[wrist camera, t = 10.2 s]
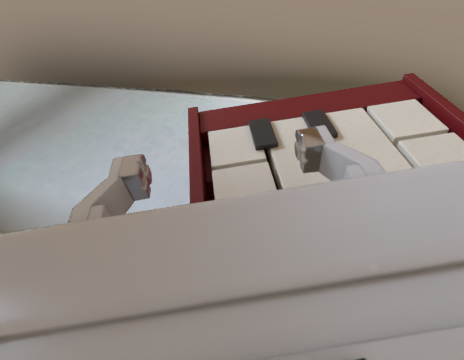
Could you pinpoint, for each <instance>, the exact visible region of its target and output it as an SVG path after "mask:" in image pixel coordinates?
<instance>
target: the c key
mask: <svg viewBox="0 0 464 360" xmlns="http://www.w3.org/2000/svg"><path fill="white" fill-rule="evenodd" d="M212 179H213V189H214V199H215V200H217V199H223V198H230V197H236V196H242V195H249V194H255V193H261V192H267V191H274V190H277V189H276V185H275V182H274V179H273V176H272V173H271V170H270V166H269V163H268V162H263V163H257V164H250V165H244V166H238V167H232V168H225V169H219V170H213V171H212Z"/></svg>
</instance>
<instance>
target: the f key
mask: <svg viewBox="0 0 464 360" xmlns="http://www.w3.org/2000/svg"><path fill="white" fill-rule="evenodd" d="M396 148H397V150H398V151H399V152H400V153H401V154H402V156H403V157H404V158H405V159H406V160H407V162H408V163H409V164H410V165H411V166H412V168H417V167H423V166H430V165H436V164H442V163H448V162H455V161H464V141H463V140H462V139H461V138H460V137H459V136H458V135H456V134H455V133H454V132H452V133H446V134H440V135H433V136H427V137H421V138H414V139H408V140H402V141H399V142H398V144H397V147H396Z"/></svg>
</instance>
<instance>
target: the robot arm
mask: <svg viewBox="0 0 464 360" xmlns="http://www.w3.org/2000/svg"><path fill="white" fill-rule="evenodd" d="M295 137H296V140H297V141H296V142H295V145H294V149H295V155H296V158H297V160H299V161H300V167H301V170H302V172H303V174H304V173H312V172H319V173H321V174H322V175H323V176H325V177H326V178H327V179H329V180H330V182H324V183H317V184H311V185H305V186H299V187H292V188H286V189H280V190H274V191H267V192H261V193H255V194H249V195H242V196H236V197H230V198H223V199H217V200H211V201H205V202H198V203H192V204H186V205H180V206H173V207H167V208H161V209H154V210H148V211H142V212H136V213H129V214H126V212H127V211H128V209H129V208H130V207H131V205H132V204H133V203H134V201H137V200H142V199H148V198H150V191H151V188H150V186H149V185H150V184H151V183H152V175H151V171H150V168H149V166H148V165H146V159H145V156H144V155H143V154H139V155H132V156H125V157H118V158H114V159H113V161H112V165H111V168H110V172H109V176H108V179H105V180H104V181H103V182H102V183H100V184H99V185H98V186H97V187H96V188H95V189H94V190H93V191H92V192H90V193H89V194H88V195H87V196H86V197H85V198H84V199H83V200H82V201H81V202H79V203H78V204H77V205H76V206H75V207H74V208H73V209H72V212H71V215H70V218H69V220H68V223H67V224H61V225H54V226H48V227H42V228H36V229H29V230H23V231H17V232H10V233H3V234H0V360H464V161H455V162H448V163H442V164H436V165H430V166H423V167H417V168H411V169H405V170H399V171H392V172H385V170H384V169H383V168H382V166H381V165H380V164H379V162H378V161H377V160H376V159H373V158H371V157H369V156H367V155H365V154H363V153H361V152H358V151H356V150H354V149H352V148H350V147H348V146H346V145H343V144H341V143H339V142H338V143H336V142H335V140H334V138H333V137H332V135H331V134H330V132H329V130H328V129H327V127H326V126H325V125H321V126H315V127H311V128H305V129H299V130H296V132H295Z"/></svg>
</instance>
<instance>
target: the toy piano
mask: <svg viewBox="0 0 464 360" xmlns="http://www.w3.org/2000/svg"><path fill="white" fill-rule="evenodd" d="M321 125H325V126H326V127H327V129H328V130H329V132H330V134H331V135H332V137H333V138H334V140H335V142H336V143H338V142H339V143H341V144H343V145H346V146H348V147H350V148H352V149H354V150H356V151H358V152H361V153H363V154H365V155H367V156H369V157H371V158H373V159H376V160H377V161H378V162H379V164H380V165H381V166H382V168H383V169H384V170H385V172H392V171H399V170H405V169H411V168H412V166H411V165H410V164H409V163H408V162H407V160H406V159H405V158H404V157H403V156H402V154H401V153H400V152H399V151H398V150H397V148H396V147H397V144H398V142H399V141H402V140H408V139H414V138H421V137H427V136H433V135H440V134H446V133H452V132H454V133H455V134H456V135H458V136H459V137H460V138H461V139H462V140H463V141H464V112H462V111H461V110H460V109H459V108H457V107H456V106H455V105H453V104H452V103H451V102H450V101H448V100H447V99H446V98H444V97H443V96H442V95H441V94H439V93H438V92H437V91H435V90H434V89H433V88H432V87H430V86H429V85H427V84H426V83H425V82H424V81H423V80H421V79H420V78H419V77H417V76H416V75H415V74H413V73H411V74H405V75H404V76H403V79H402V81H395V82H388V83H382V84H376V85H370V86H363V87H357V88H350V89H344V90H337V91H331V92H325V93H318V94H312V95H305V96H299V97H293V98H286V99H280V100H273V101H267V102H260V103H254V104H248V105H241V106H235V107H228V108H222V109H216V110H209V111H203V112H198V107H193V108H188V128H189V176H190V204H192V203H198V202H205V201H211V200H215V199H214V189H213V179H212V171H213V170H219V169H225V168H232V167H238V166H244V165H250V164H257V163H263V162H268V163H269V166H270V170H271V173H272V176H273V179H274V182H275V185H276V189H277V190H280V189H286V188H292V187H299V186H305V185H311V184H317V183H324V182H330V180H329V179H327V178H326V177H325V176H323V175H322V174H321V173H319V172H312V173H304V174H303V172H302V170H301V167H300V161H299V160H297V158H296V155H295V149H294V145H295V142H296V141H297V140H296V137H295V132H296V130H299V129H305V128H311V127H315V126H321Z"/></svg>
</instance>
